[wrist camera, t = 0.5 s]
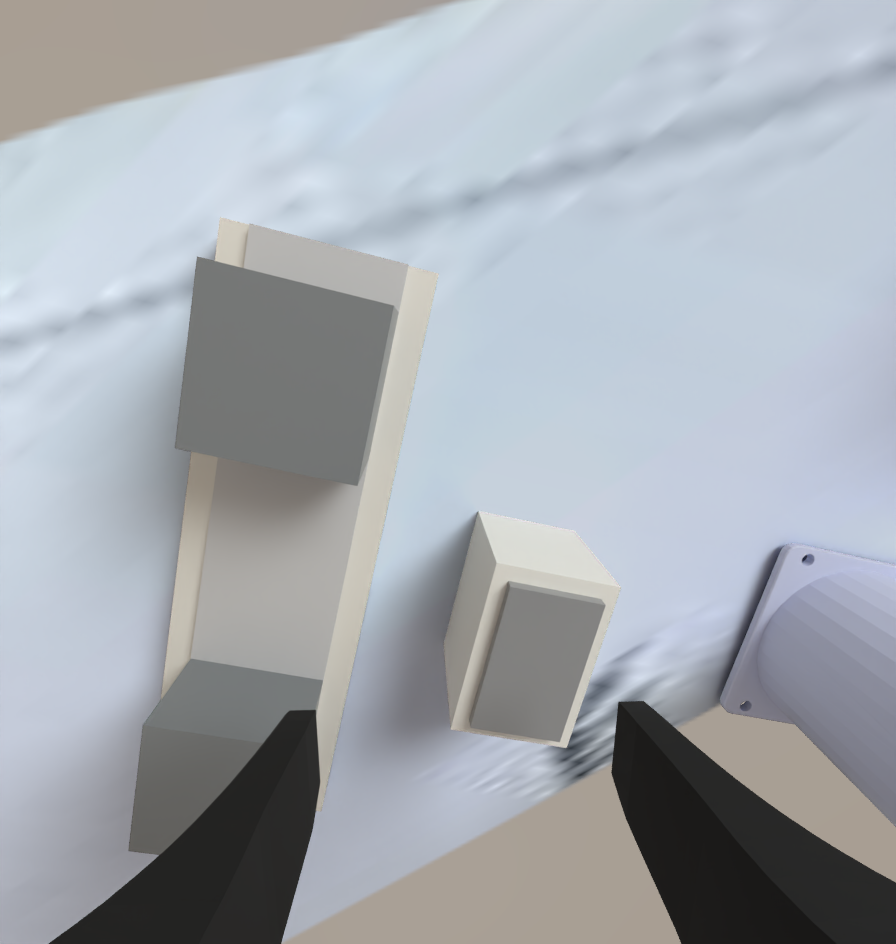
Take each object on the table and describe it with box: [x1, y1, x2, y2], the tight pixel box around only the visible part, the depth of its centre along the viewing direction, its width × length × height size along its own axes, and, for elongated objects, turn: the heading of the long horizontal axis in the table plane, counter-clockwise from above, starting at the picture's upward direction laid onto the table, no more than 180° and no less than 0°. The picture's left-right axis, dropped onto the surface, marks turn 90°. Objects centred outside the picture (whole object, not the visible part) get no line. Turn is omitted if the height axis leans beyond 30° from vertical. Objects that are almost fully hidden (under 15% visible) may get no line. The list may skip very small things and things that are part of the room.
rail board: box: [129, 217, 438, 855], centre depth 18 cm, size 7×22×5 cm, turn 167°
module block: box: [443, 511, 621, 748], centre depth 19 cm, size 4×6×5 cm, turn 167°
